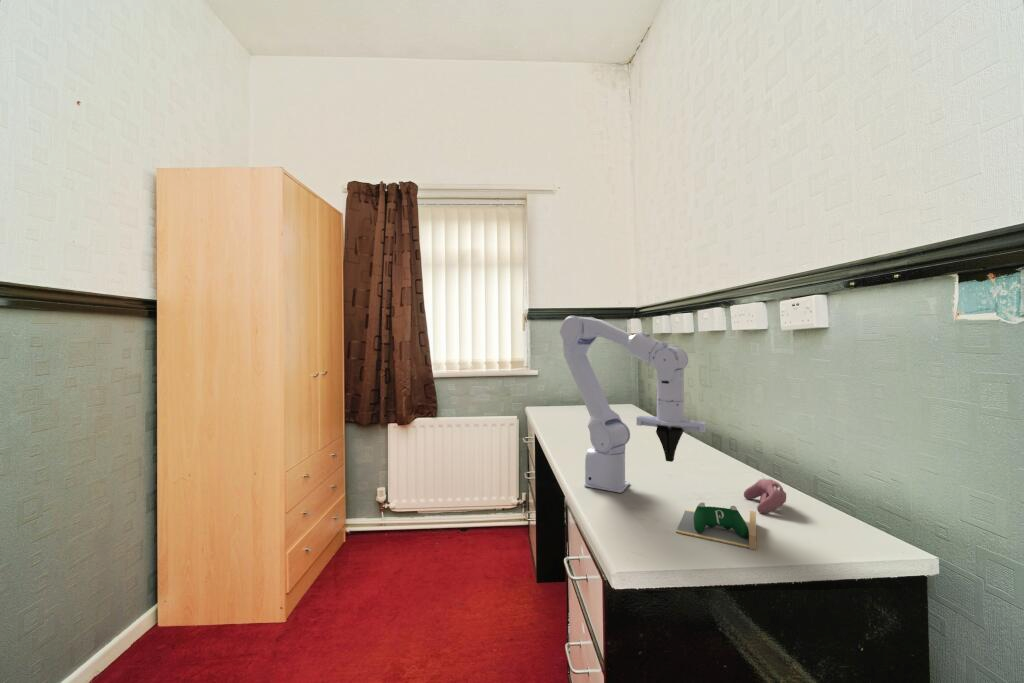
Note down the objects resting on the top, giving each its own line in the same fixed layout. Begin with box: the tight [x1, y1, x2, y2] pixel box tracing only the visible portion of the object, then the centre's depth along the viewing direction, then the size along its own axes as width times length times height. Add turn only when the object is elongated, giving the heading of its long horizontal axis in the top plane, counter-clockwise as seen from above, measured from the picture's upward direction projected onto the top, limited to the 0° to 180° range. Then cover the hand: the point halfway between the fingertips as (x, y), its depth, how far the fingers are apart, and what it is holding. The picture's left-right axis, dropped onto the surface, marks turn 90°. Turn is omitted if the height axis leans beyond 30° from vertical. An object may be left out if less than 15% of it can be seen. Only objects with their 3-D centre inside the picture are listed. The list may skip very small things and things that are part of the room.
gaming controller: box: [694, 501, 749, 538], centre depth 80 cm, size 9×4×6 cm
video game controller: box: [743, 477, 787, 515], centre depth 92 cm, size 10×5×7 cm, turn 169°
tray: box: [676, 509, 757, 550], centre depth 81 cm, size 13×12×2 cm
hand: (669, 460), depth 95 cm, fingers closed
